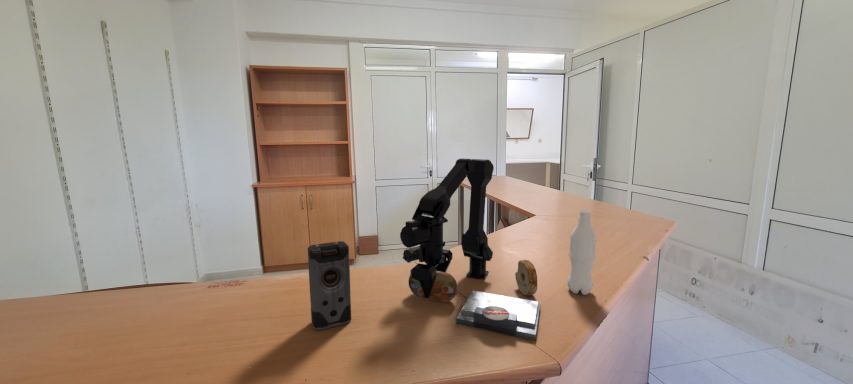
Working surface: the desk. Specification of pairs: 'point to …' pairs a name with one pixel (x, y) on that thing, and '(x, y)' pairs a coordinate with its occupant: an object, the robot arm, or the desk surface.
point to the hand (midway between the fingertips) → (432, 291)
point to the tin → (437, 288)
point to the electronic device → (329, 284)
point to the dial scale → (500, 314)
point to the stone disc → (526, 277)
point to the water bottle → (582, 254)
